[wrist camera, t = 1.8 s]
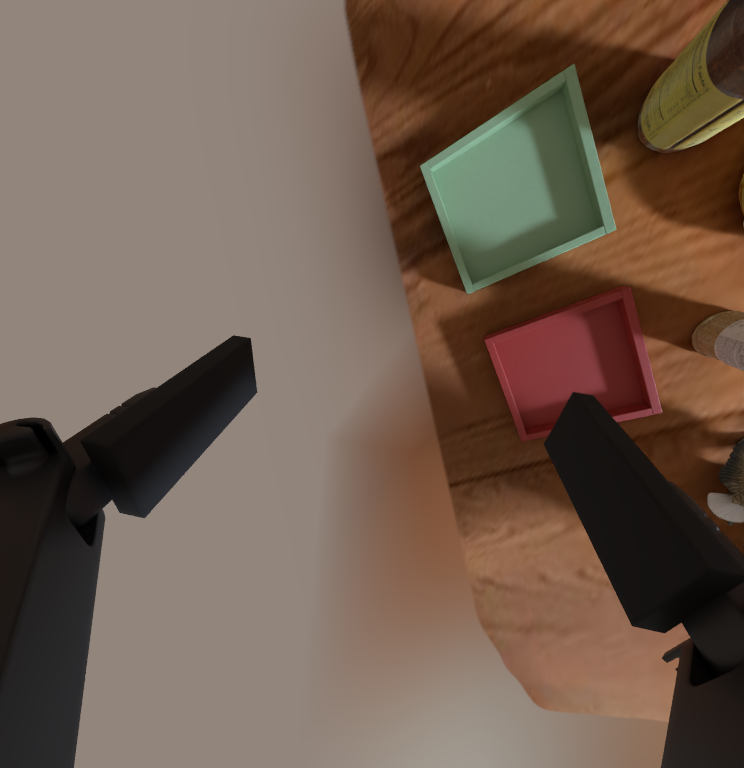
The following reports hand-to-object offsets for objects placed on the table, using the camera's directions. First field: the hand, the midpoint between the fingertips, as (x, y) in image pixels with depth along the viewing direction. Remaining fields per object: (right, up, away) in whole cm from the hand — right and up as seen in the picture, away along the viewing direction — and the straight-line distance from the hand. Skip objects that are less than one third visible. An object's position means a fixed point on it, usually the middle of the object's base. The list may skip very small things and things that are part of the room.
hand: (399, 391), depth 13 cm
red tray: (+21, +2, +22) cm, 30 cm away
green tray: (+13, +19, +18) cm, 29 cm away
